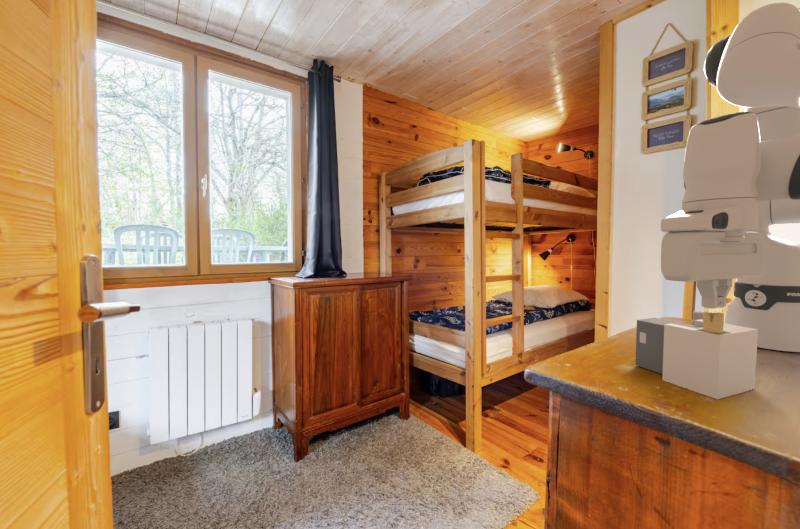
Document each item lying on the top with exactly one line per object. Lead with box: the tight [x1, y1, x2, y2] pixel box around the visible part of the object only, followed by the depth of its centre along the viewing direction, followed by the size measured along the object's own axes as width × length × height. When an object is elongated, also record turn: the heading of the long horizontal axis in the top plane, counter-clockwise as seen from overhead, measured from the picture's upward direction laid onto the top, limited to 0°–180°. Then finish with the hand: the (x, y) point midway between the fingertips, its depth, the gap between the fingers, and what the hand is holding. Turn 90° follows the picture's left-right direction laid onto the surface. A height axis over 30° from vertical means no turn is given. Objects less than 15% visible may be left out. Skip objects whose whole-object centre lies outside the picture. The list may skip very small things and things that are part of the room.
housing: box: [662, 319, 758, 400], centre depth 58 cm, size 10×8×10 cm
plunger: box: [703, 310, 725, 335], centre depth 55 cm, size 2×2×6 cm
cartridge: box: [635, 317, 703, 375], centre depth 63 cm, size 5×9×9 cm, turn 20°
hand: (713, 307), depth 54 cm, fingers closed
